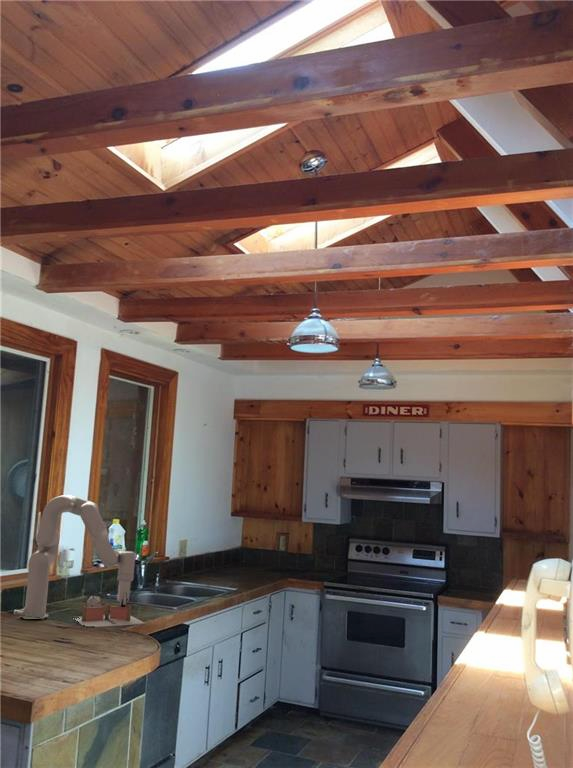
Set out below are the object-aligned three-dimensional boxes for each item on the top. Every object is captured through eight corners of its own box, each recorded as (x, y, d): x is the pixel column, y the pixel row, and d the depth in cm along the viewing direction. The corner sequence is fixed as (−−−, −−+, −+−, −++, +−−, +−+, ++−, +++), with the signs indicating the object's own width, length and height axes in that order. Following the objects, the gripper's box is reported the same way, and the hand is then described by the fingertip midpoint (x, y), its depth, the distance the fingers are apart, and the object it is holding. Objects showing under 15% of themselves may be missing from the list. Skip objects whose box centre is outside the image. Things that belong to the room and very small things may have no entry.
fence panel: (108, 619, 320) (110, 604, 321) (110, 618, 322) (111, 604, 323) (129, 621, 318) (130, 606, 319) (130, 620, 319) (132, 606, 320)
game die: (95, 618, 343) (108, 601, 347) (92, 615, 335) (105, 598, 340) (82, 608, 345) (95, 591, 349) (78, 604, 337) (92, 588, 342)
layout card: (86, 628, 302) (86, 627, 302) (71, 618, 322) (71, 617, 322) (144, 623, 317) (144, 622, 317) (127, 614, 337) (127, 613, 337)
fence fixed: (82, 621, 314) (83, 606, 315) (80, 620, 315) (82, 605, 316) (109, 619, 321) (110, 604, 322) (108, 618, 322) (109, 603, 324)
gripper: (116, 574, 332) (112, 613, 329) (119, 579, 318) (115, 619, 315) (131, 575, 334) (128, 613, 332) (135, 579, 320) (131, 619, 318)
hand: (122, 615), depth 323 cm, fingers closed
